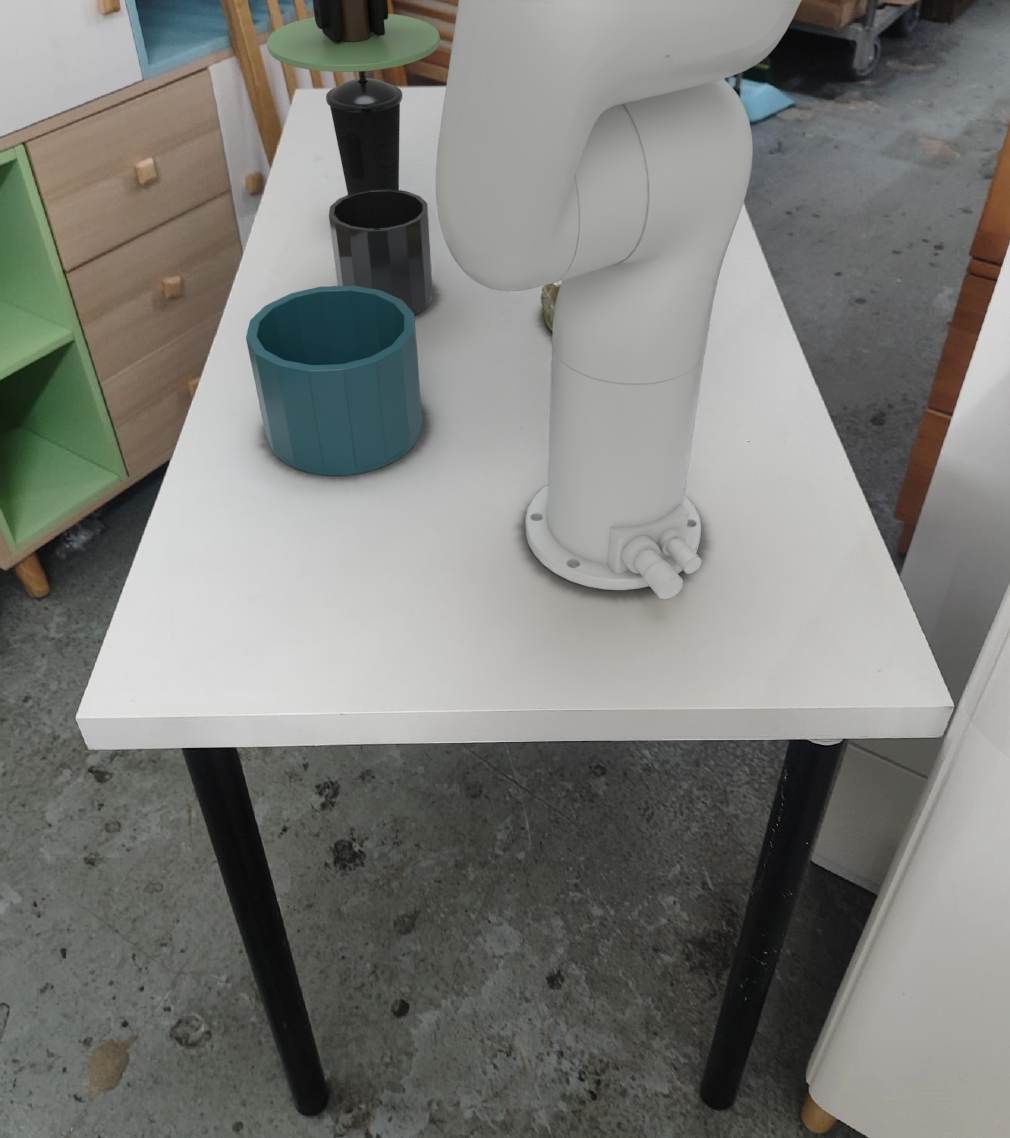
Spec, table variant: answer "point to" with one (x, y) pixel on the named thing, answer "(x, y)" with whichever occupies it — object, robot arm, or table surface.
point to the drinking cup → (367, 132)
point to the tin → (337, 378)
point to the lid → (354, 42)
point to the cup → (384, 244)
